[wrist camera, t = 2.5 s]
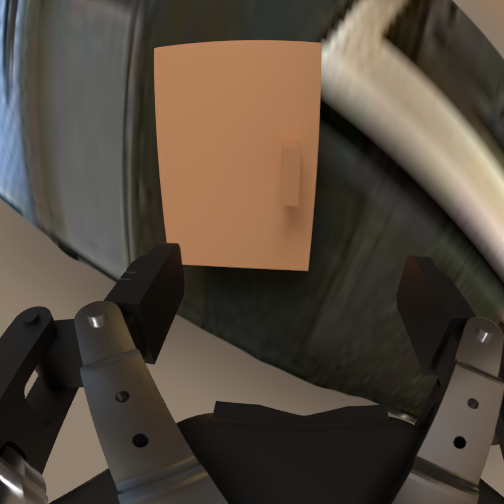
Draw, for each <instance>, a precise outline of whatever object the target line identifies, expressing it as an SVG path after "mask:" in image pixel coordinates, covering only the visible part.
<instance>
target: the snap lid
mask: <svg viewBox="0 0 504 504" xmlns="http://www.w3.org/2000/svg"><path fill="white" fill-rule="evenodd" d="M154 79H155V109H156V129H157V145H158V159H159V171H160V183H161V193H162V203H163V213H164V222H165V230H166V238H167V243H178V244H179V245H180V249H181V257H182V264H184V265H201V266H219V267H239V268H258V269H279V270H301V271H308V266H309V256H310V246H311V236H312V225H313V213H314V201H315V188H316V174H317V158H318V140H319V120H320V93H321V43H314V42H300V41H274V40H244V41H218V42H203V43H192V44H182V45H173V46H165V47H158V48H154Z"/></svg>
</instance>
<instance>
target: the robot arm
mask: <svg viewBox="0 0 504 504" xmlns="http://www.w3.org/2000/svg"><path fill="white" fill-rule="evenodd" d="M183 295H184V275H183V266H182V257H181V249H180V245H179V244H178V243H162V242H158V243H156V245H155V246H154V247H153V249H152V250H151V251H150V253H149V254H148V255H143V256H141V257H139V258H138V259H136V260H135V261H133V262H132V263H131V264H130V266H129V267H128V268H127V270H126V272H124V274H123V275H122V276H121V279H119V280H118V282H117V283H116V285H115V286H114V287H113V289H112V290H111V291H110V293H109V294H108V295H107V297H106V298H105V300H104V301H97V302H93V303H90V304H88V305H86V306H84V307H83V308H81V309H80V310H79V311H78V313H77V314H76V316H75V319H68V320H56V321H54V320H53V317H52V315H51V312H50V310H49V309H47V308H45V307H39V306H38V307H32V308H29V309H26V310H25V311H23V312H21V313H20V314H19V315H18V316H17V317H16V318H15V319H14V321H13V322H12V323H11V325H10V326H9V327H8V328H7V330H6V331H5V332H4V334H3V335H2V336H1V338H0V504H47V503H48V497H47V495H46V484H45V481H44V479H43V477H42V473H43V471H44V468H45V466H46V463H47V460H48V458H49V455H50V453H51V450H52V448H53V445H54V443H55V440H56V438H57V436H58V433H59V430H60V428H61V426H62V424H63V421H64V419H65V417H66V415H67V412H68V410H69V408H70V406H71V403H72V401H73V399H74V397H75V395H76V392H77V390H78V388H79V387H84V390H85V394H86V398H87V402H88V405H89V409H90V412H91V416H92V419H93V422H94V426H95V429H96V432H97V435H98V438H99V441H100V444H101V447H102V450H103V453H104V456H105V458H106V461H107V464H108V467H109V468H108V469H106V470H105V471H103V472H102V473H100V474H98V475H97V476H95V477H93V478H92V479H90V480H89V481H87V482H85V483H84V484H82V485H80V486H79V487H77V488H75V489H73V490H72V491H70V492H68V493H67V494H65V495H63V496H61V497H60V498H58V499H56V500H54V501H52V502H51V503H49V504H504V497H503V496H501V495H500V494H499V493H498V492H497V491H495V490H494V489H493V488H492V487H490V486H489V485H488V484H487V483H485V482H484V481H483V480H482V479H481V478H480V477H481V474H482V471H483V469H484V465H485V463H486V459H487V456H488V453H489V450H490V446H491V443H492V439H493V436H494V432H495V431H496V435H497V438H498V441H499V445H500V448H501V451H502V455H503V459H504V336H503V333H502V331H501V329H500V328H499V327H498V326H497V325H496V324H495V323H493V322H492V321H490V320H488V319H486V318H482V317H476V315H475V314H474V312H473V311H472V309H471V307H470V306H469V304H468V303H467V301H466V300H465V298H464V297H463V296H461V295H462V294H461V292H460V291H459V290H458V289H457V287H456V285H455V284H454V282H453V281H452V279H451V278H450V277H448V276H447V275H446V274H445V273H443V272H442V271H441V270H439V269H438V268H437V266H436V265H435V264H434V262H433V261H432V259H431V258H430V257H429V256H415V255H410V256H408V258H407V260H406V263H405V267H404V271H403V274H402V278H401V281H400V285H399V289H398V292H397V308H398V311H399V313H400V316H401V318H402V321H403V323H404V325H405V328H406V330H407V333H408V335H409V338H410V341H411V343H412V346H413V348H414V351H415V354H416V356H417V359H418V362H419V364H420V367H421V370H422V373H423V375H434V374H437V377H438V379H437V380H436V382H435V384H434V386H433V388H432V390H431V392H430V394H429V397H428V399H427V401H426V403H425V405H424V407H423V409H422V411H421V413H420V415H419V417H418V419H417V421H416V423H415V425H413V424H411V423H409V422H406V421H404V420H401V419H397V418H393V417H388V412H387V407H386V405H371V406H347V407H343V408H339V409H335V410H330V411H326V412H322V413H317V414H312V415H307V416H301V415H296V414H292V413H288V412H284V411H280V410H276V409H273V408H269V407H265V406H261V405H255V404H242V403H231V402H220V401H216V403H215V408H214V413H208V414H202V415H197V416H194V417H190V418H187V419H185V420H182V421H180V422H178V423H175V421H174V419H173V417H172V416H171V414H170V412H169V410H168V408H167V406H166V404H165V402H164V400H163V398H162V397H161V395H160V392H159V391H158V388H157V386H156V385H155V383H154V380H153V378H152V376H151V375H150V372H149V370H148V368H147V366H146V364H145V363H149V364H155V362H156V360H157V357H158V355H159V353H160V350H161V348H162V345H163V343H164V341H165V338H166V335H167V333H168V331H169V329H170V326H171V324H172V322H173V319H174V317H175V315H176V312H177V310H178V308H179V305H180V303H181V301H182V298H183ZM34 369H35V371H36V372H37V374H38V377H37V379H36V381H35V383H34V384H33V386H32V388H31V390H30V391H29V393H28V395H27V397H26V399H25V395H24V389H25V385H26V383H27V381H28V380H29V378H30V376H31V375H32V373H33V371H34Z"/></svg>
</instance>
